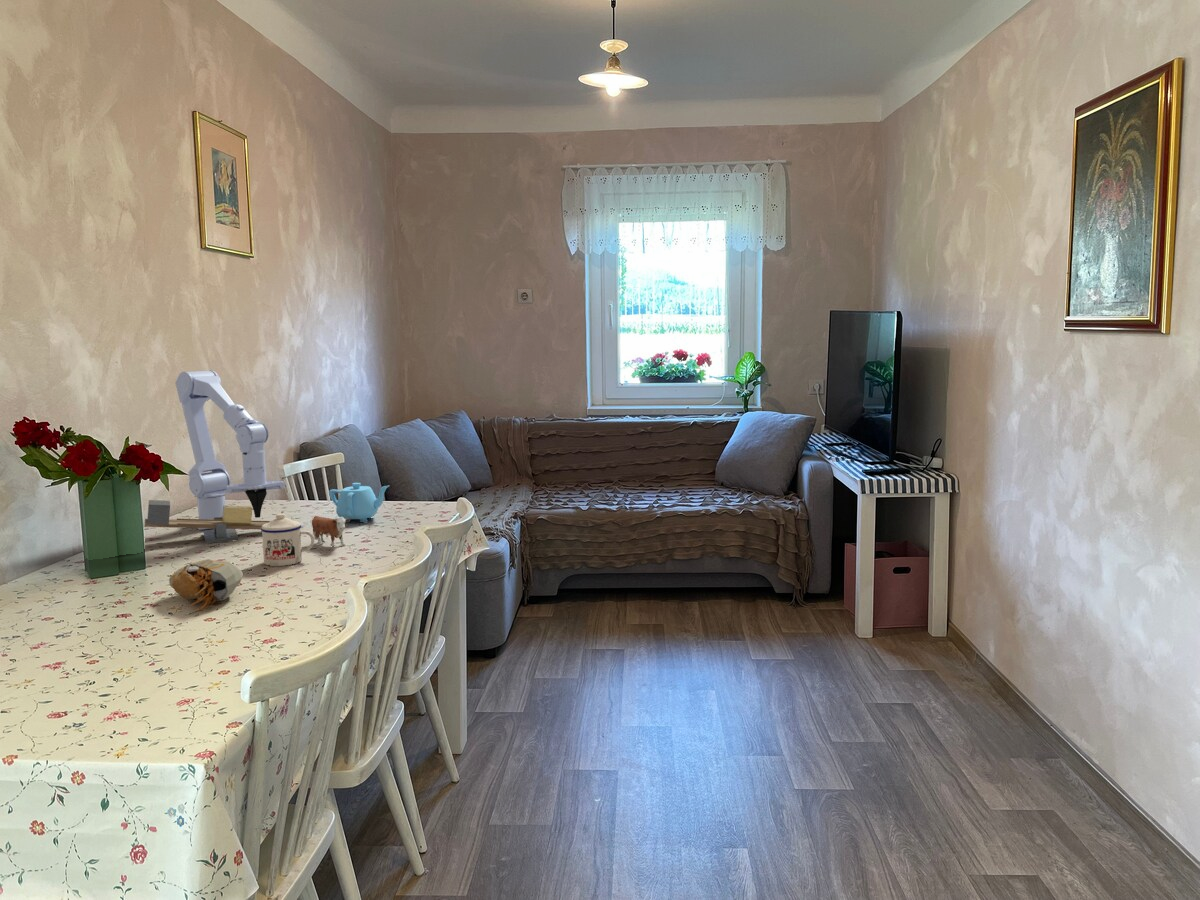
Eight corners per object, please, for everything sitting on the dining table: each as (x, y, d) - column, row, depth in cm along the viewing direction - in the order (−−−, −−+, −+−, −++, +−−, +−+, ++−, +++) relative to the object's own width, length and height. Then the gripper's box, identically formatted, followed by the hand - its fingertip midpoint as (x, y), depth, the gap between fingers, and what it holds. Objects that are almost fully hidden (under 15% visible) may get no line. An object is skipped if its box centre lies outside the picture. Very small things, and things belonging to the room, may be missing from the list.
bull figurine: (341, 550, 226) (339, 519, 225) (309, 543, 234) (307, 512, 233) (355, 547, 230) (353, 516, 229) (323, 540, 238) (321, 510, 237)
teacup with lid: (259, 568, 211) (256, 519, 209) (266, 558, 220) (263, 511, 218) (313, 565, 213) (310, 516, 211) (317, 555, 222) (315, 509, 220)
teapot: (329, 521, 264) (325, 483, 262) (374, 512, 273) (371, 476, 271) (346, 528, 254) (343, 490, 252) (393, 519, 263) (390, 481, 261)
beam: (145, 521, 237) (146, 499, 237) (287, 525, 254) (289, 504, 253) (144, 527, 231) (146, 504, 230) (291, 530, 247) (293, 509, 246)
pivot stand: (203, 534, 246) (202, 518, 246) (234, 531, 250) (233, 515, 249) (205, 543, 235) (204, 526, 235) (238, 540, 239) (237, 523, 238)
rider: (221, 521, 244) (223, 505, 244) (249, 522, 247) (250, 506, 247) (223, 524, 241) (224, 507, 240) (250, 525, 244) (252, 508, 243)
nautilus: (228, 618, 176) (147, 626, 174) (254, 581, 196) (182, 588, 195) (222, 580, 174) (140, 588, 172) (249, 547, 195) (176, 553, 193)
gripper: (226, 471, 238) (230, 522, 239) (284, 467, 244) (287, 516, 246) (224, 468, 244) (228, 517, 246) (281, 464, 250) (283, 512, 252)
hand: (257, 516), depth 246 cm, fingers closed
